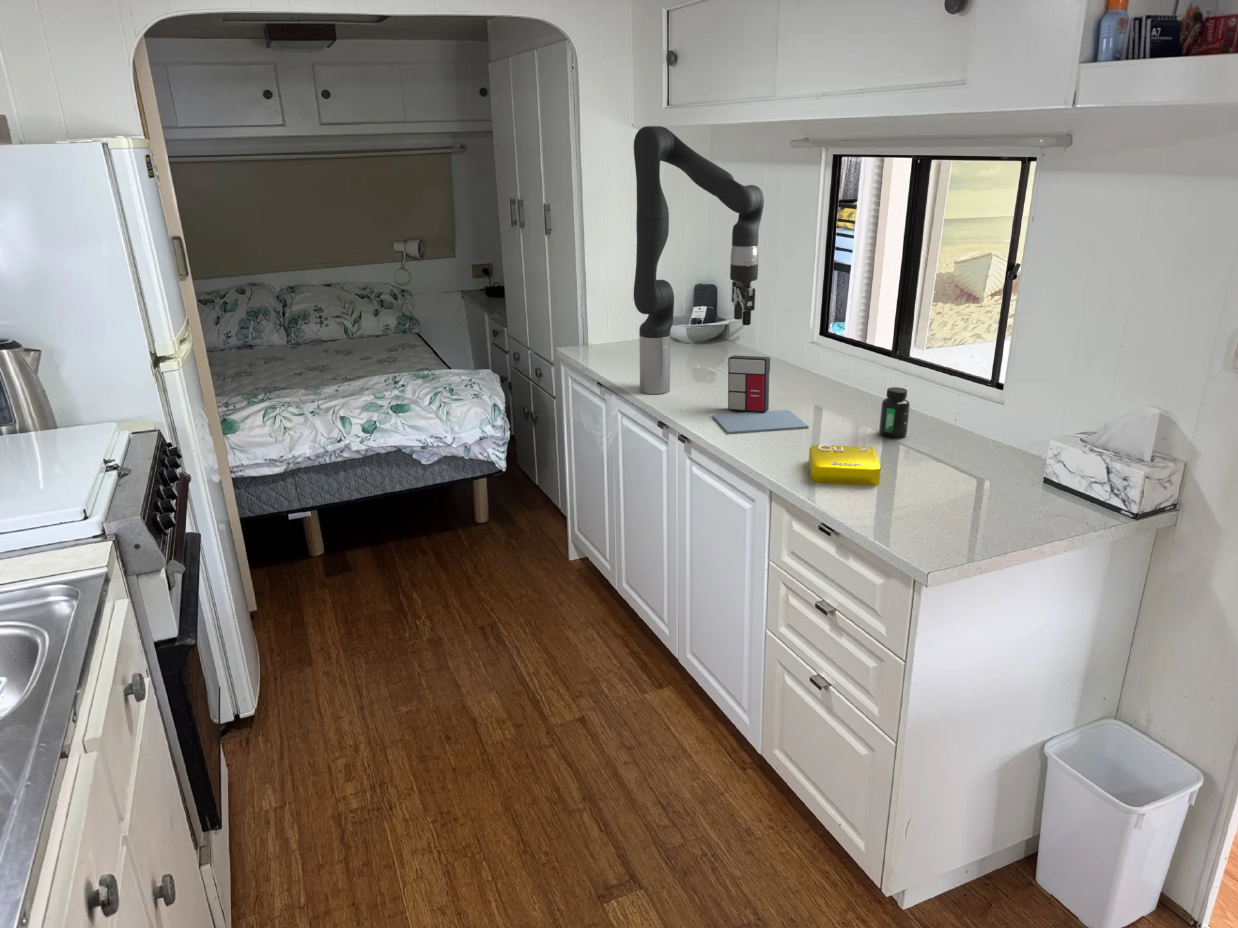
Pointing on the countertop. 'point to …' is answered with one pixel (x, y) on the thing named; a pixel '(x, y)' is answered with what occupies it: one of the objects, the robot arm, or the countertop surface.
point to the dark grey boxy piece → (748, 383)
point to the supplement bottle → (894, 414)
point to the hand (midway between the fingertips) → (742, 322)
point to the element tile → (844, 465)
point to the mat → (759, 421)
